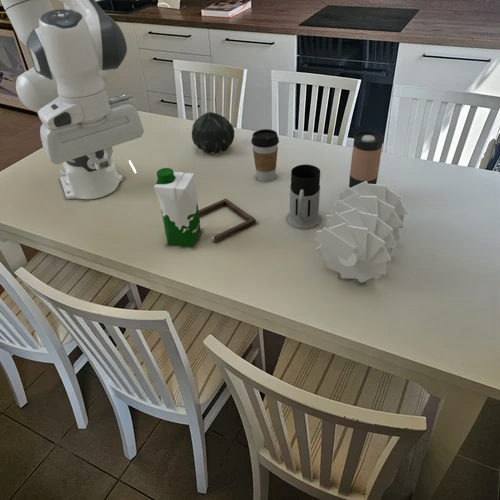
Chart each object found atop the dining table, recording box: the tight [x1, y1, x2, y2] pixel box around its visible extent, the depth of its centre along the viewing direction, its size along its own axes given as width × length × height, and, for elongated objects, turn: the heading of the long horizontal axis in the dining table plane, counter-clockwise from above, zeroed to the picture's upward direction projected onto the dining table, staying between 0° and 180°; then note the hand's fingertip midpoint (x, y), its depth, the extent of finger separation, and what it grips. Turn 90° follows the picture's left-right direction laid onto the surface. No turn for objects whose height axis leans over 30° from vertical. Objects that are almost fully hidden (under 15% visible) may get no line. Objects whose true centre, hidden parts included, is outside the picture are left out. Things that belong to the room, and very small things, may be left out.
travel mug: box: [348, 130, 384, 188], centre depth 125 cm, size 8×8×20 cm
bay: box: [198, 198, 257, 243], centre depth 125 cm, size 14×13×2 cm
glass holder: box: [287, 164, 321, 229], centre depth 118 cm, size 9×14×15 cm, turn 167°
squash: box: [191, 111, 235, 155], centre depth 157 cm, size 14×15×15 cm
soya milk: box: [153, 167, 202, 248], centre depth 114 cm, size 9×9×20 cm
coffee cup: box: [250, 128, 280, 183], centre depth 139 cm, size 8×8×15 cm
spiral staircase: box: [314, 181, 409, 284], centre depth 106 cm, size 18×18×25 cm
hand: (103, 167), depth 96 cm, fingers closed
